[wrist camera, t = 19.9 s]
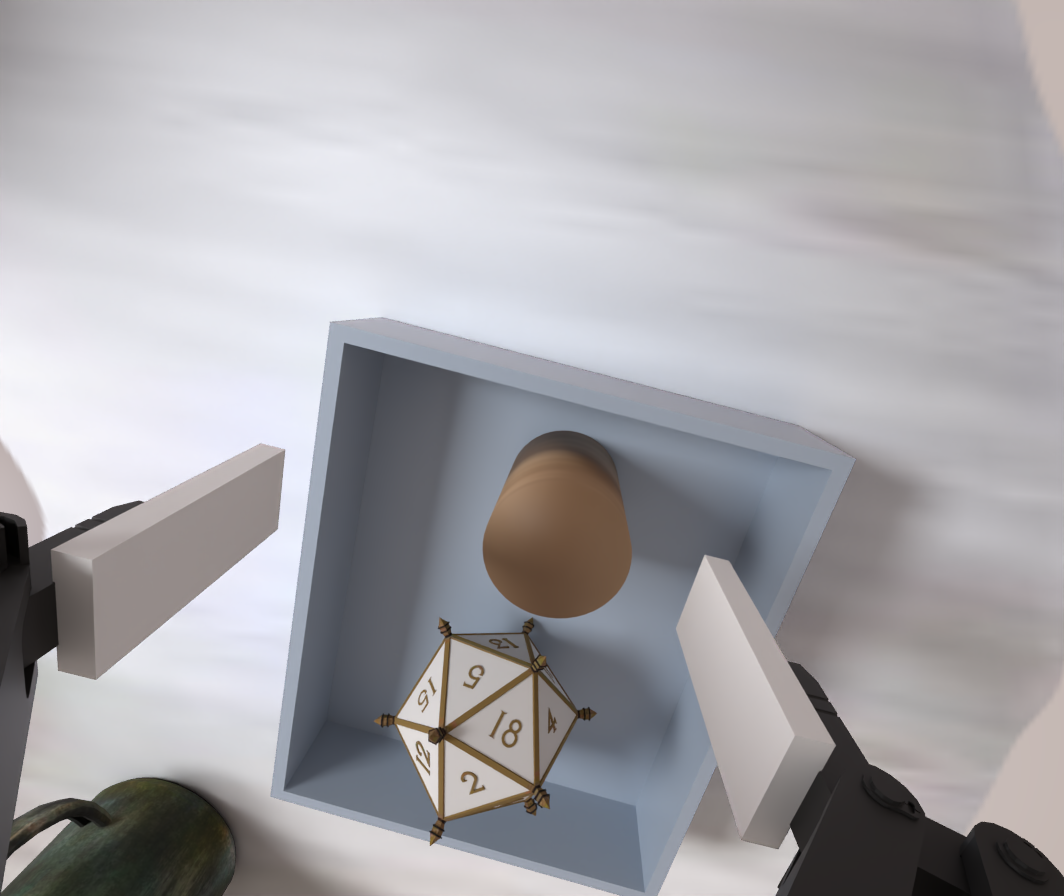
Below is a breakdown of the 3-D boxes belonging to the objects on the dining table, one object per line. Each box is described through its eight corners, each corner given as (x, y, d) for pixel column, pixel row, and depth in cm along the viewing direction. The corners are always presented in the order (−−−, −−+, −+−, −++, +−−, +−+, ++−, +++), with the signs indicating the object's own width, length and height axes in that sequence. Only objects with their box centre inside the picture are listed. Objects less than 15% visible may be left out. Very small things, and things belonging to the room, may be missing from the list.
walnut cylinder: (499, 516, 25) (469, 596, 18) (524, 418, 23) (500, 465, 17) (600, 543, 25) (607, 634, 18) (631, 446, 23) (651, 505, 16)
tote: (320, 717, 30) (270, 796, 25) (382, 317, 23) (330, 321, 18) (641, 806, 30) (653, 904, 25) (798, 425, 23) (856, 459, 18)
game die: (542, 607, 30) (670, 727, 22) (462, 736, 29) (564, 909, 21) (422, 552, 25) (532, 683, 17) (321, 707, 24) (385, 922, 16)
